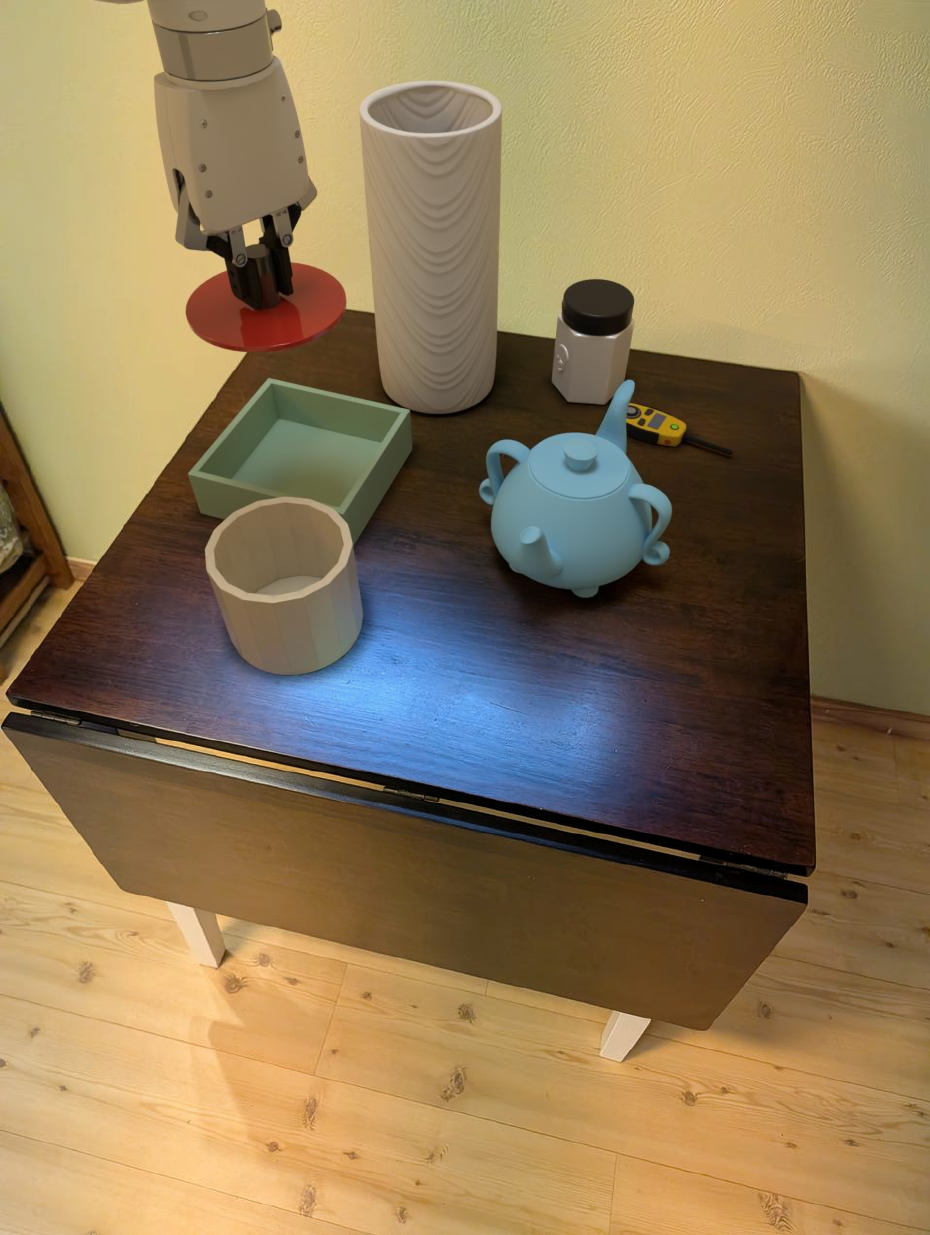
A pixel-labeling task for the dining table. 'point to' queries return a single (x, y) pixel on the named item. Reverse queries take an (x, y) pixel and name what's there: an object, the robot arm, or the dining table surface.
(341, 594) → the pot
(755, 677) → the dining table surface
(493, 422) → the dining table surface
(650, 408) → the remote control
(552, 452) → the teapot
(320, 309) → the lid
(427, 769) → the dining table surface
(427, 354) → the vase
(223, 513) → the green square tray
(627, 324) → the jar
